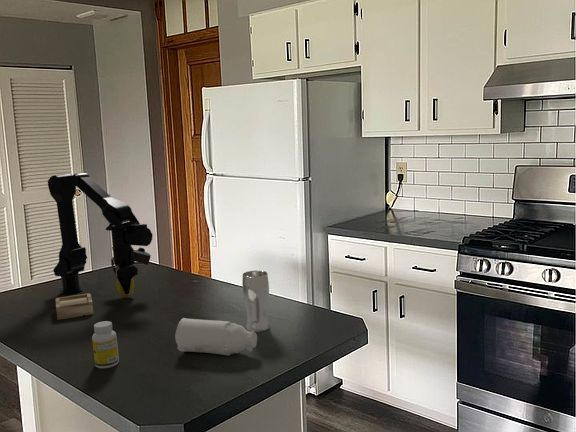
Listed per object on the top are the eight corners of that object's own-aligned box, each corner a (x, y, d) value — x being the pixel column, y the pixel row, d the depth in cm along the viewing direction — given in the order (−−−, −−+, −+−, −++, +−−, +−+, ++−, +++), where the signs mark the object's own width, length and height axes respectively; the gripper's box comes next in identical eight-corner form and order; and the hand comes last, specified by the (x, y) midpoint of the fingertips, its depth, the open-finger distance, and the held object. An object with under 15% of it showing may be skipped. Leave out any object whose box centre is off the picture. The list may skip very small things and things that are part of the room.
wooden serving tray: (56, 309, 174) (55, 298, 173) (91, 304, 178) (90, 293, 177) (57, 319, 165) (56, 307, 164) (93, 314, 168) (92, 301, 168)
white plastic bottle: (249, 363, 129) (247, 330, 128) (175, 356, 135) (172, 324, 134) (261, 350, 137) (259, 318, 136) (190, 343, 143) (188, 313, 141)
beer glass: (274, 324, 153) (272, 270, 151) (265, 334, 147) (262, 277, 144) (250, 322, 156) (247, 269, 153) (240, 331, 149) (237, 276, 147)
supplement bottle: (98, 360, 134) (94, 320, 133) (121, 358, 135) (117, 319, 133) (92, 370, 129) (87, 328, 128) (116, 368, 130) (112, 327, 128)
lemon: (130, 300, 180) (128, 276, 179) (114, 300, 181) (112, 275, 180) (138, 295, 186) (136, 271, 184) (122, 295, 187) (120, 271, 186)
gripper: (152, 246, 175) (156, 295, 178) (143, 236, 192) (146, 281, 195) (115, 251, 171) (119, 301, 174) (108, 240, 188) (113, 286, 191)
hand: (126, 291), depth 183 cm, fingers closed on lemon, 5 cm apart
